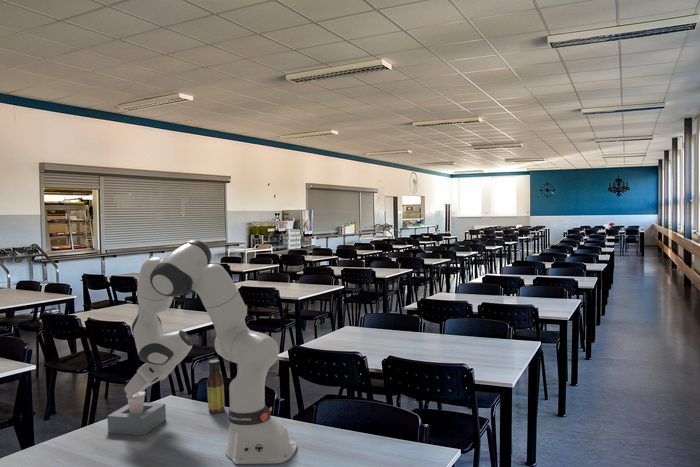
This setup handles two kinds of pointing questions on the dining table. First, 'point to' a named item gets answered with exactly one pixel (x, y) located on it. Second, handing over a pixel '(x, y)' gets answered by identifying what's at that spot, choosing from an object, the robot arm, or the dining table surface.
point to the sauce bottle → (215, 388)
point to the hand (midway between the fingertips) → (134, 393)
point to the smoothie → (136, 403)
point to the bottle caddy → (136, 419)
